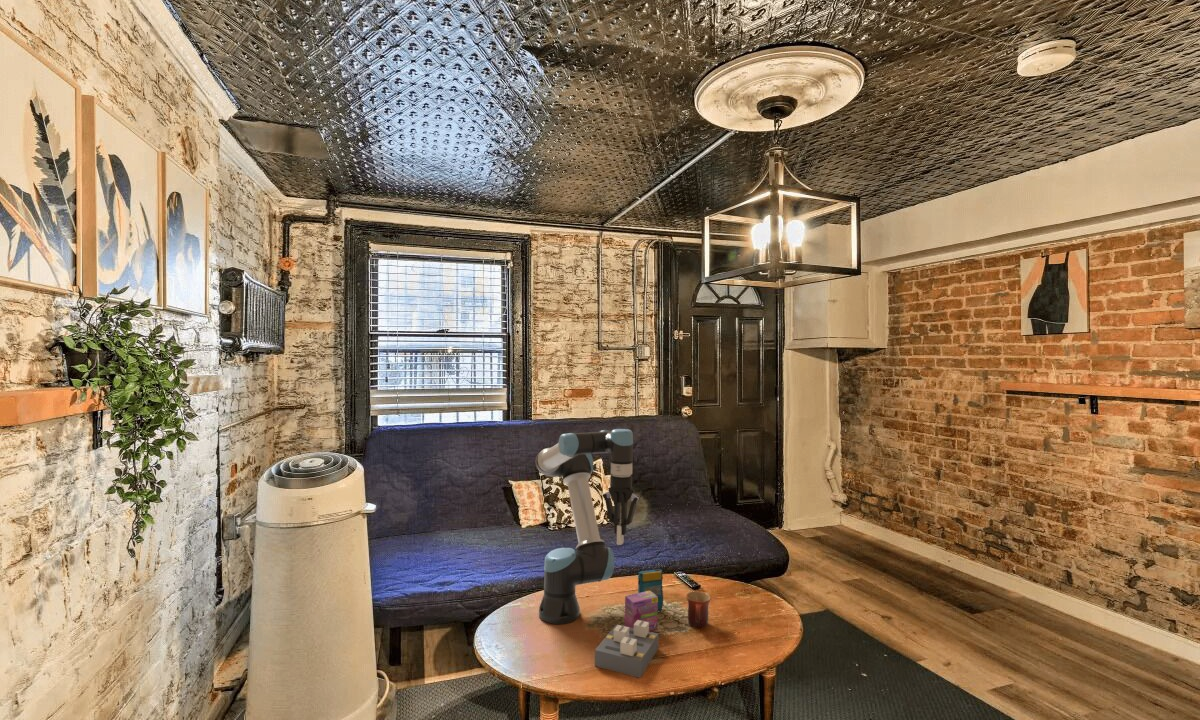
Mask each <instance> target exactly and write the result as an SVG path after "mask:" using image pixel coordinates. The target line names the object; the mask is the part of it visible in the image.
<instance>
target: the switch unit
mask: <svg viewBox="0 0 1200 720" xmlns="http://www.w3.org/2000/svg"><path fill="white" fill-rule="evenodd" d="M617 625H619V624H615V625H614V626H613V627H612V629H611V630H610V631H609V632H608V633H607V635H606V636H605V637H604V638H603V639H602V641H601V642H599V645H597V647H596V648H595V650H594V667H596V668H597V667H598V668H600V669H605V670H609V671H613V672H616V673H620V674H625V675H626V676H627V675H628V676H631V677H634V678H639V679H641V677H643V674H644V673H645V672H646V670H647V668H648V667H649V665H650V664H651V661H652V660H653V658H654V656H655V655H656V654H657V651H658V650H659V633H656V632H652V631H649V633H648V635H647V636H646V638H643V637H639V636H635V635H634V628H631V627H629V637H630V638H633V639H637V650H636V652H635V654H634V655H633V656H629V655H625V654H621V653H620V642H617V641H613V640H614V629H615V628H616V626H617ZM620 625H621V626H623V625H622V624H620ZM624 626H625V625H624ZM625 627H627V626H625Z"/></svg>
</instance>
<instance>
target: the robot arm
mask: <svg viewBox="0 0 1200 720" xmlns="http://www.w3.org/2000/svg"><path fill="white" fill-rule="evenodd" d="M633 437H634V434H633V431H632V430H631V429H628V428H615V429H614V428H613V429H612V430H609V429H608V430H607V429H602V430H599V431H594V432H589V431H588V432H569V433H562V434H561V435H560V436H559V438H558V443H556V444H555V445H553V446H551V447H547V448H543V449H542V450H541V451H540V452H538V453H537V455H536V457H535V466H536V469H537V470H538V471H539V472H540V473H541V474H542V475H544V476H547V477H552V478H555V477H559V478H560V477H561V478H562V481H563V483H564V484H565V485H566V486H567V488H568V494H569V499H570V506H571V510H572V515H573V521H574V526H575V531H576V537H577V542H578V543H577V545H576V547H575V549H574V548H572V547H558V548H554V549H552V550H550V551H549V552H548V553H547V554H546V555H545V557H544V563H543V574H544V575H543V576H544V577H543V596H542V598H541V602H540V604H539V608H538V617H539V619H540V620H542V621H543V622H544V623H548V624H552V625H553V624H554V625H564V624H570V623H573V622H575V621H576V620H577V619H578V618H580V613H581V609H580V604H579V601H578V598H577V594H576V586H578V585H583V584H584V585H585V584H590V583H596V582H598V583H600V582H602V581H607V580H609V579H610V578H611V577H612V575H613V573H614V568H615V556H614V552H613V550H612V548H611V547H610V546H609V547H608V546H607V545H606V541H605V540H603V539H602V538H601V537H600V533H599V532H600V531H599V526H598V522H597V519H596V512H595V508H594V504H593V498H592V494H591V488H590V484H589V480H590V479H591V474H592V473H593V471H594V458H593V456H592V454H610V471H609V472H610V477H609V479H610V480H609V485H610V487H609V489H608V491H607V492H605V493H603V494H602V498H603V499H604V502H605V506H606V511H607V517H608V521H609V523H611V524H613V525H614V529H613V530H614V534H615V535H616V545H618V546H621V545H623V544H624V542H625V541H624V538H625V537H624V536H625V535H627V526H628V525H630V524H632V522H633V518H634V515H635V510H636V506H637V503H638V502H639V501H640V496H637V495H635V494H634V490H633V461H634V460H633V456H634V455H633V454H634V452H633V451H634V438H633ZM611 497H612V498H611ZM630 498H631V499H630ZM612 499H613V503H612ZM629 500H631V503H630V506H629V510H628V504H629ZM613 505H614V507H613Z"/></svg>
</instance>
